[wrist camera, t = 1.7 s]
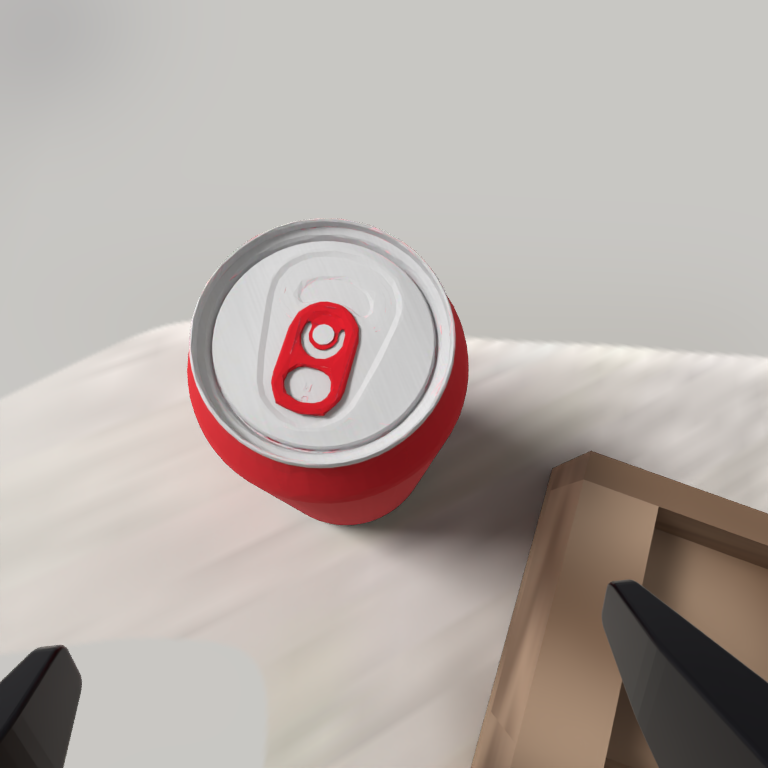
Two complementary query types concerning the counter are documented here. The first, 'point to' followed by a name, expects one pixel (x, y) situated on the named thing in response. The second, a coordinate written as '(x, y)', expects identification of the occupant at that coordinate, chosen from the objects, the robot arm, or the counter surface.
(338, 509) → the beverage can
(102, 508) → the counter surface
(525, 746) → the walnut caddy
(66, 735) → the robot arm
